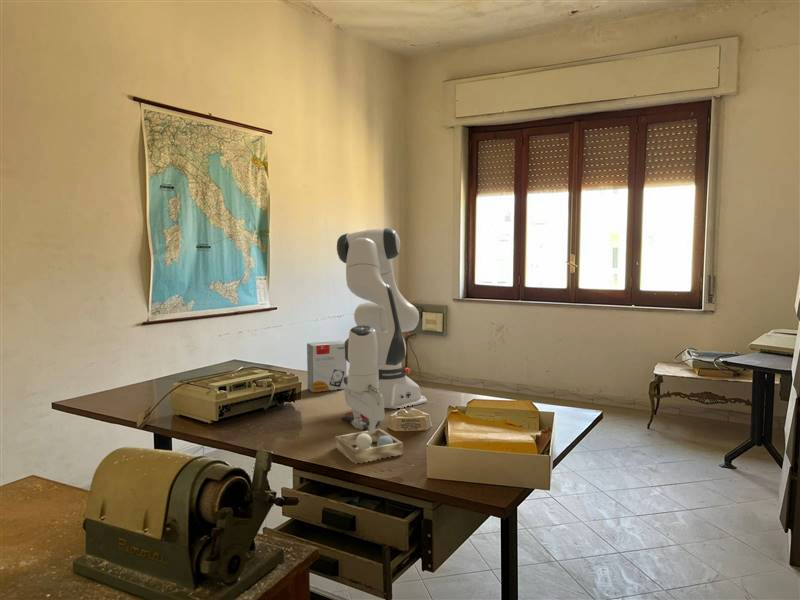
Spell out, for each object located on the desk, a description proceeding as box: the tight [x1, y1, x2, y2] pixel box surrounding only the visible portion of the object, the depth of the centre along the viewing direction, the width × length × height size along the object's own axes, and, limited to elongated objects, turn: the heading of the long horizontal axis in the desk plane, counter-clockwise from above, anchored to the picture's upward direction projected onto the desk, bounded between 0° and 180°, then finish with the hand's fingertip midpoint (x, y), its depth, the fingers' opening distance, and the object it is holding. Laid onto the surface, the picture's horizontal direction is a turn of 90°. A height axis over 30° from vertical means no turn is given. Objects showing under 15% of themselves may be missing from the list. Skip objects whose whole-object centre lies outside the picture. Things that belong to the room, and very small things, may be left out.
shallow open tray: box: [334, 428, 404, 465], centre depth 166 cm, size 15×15×4 cm
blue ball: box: [376, 436, 393, 447], centre depth 165 cm, size 5×5×5 cm
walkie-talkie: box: [340, 411, 381, 431], centre depth 190 cm, size 9×4×20 cm
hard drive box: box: [306, 340, 348, 393], centre depth 240 cm, size 16×8×20 cm, turn 115°
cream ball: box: [355, 433, 373, 450], centre depth 167 cm, size 5×5×5 cm
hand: (364, 427), depth 167 cm, fingers open, 8 cm apart
